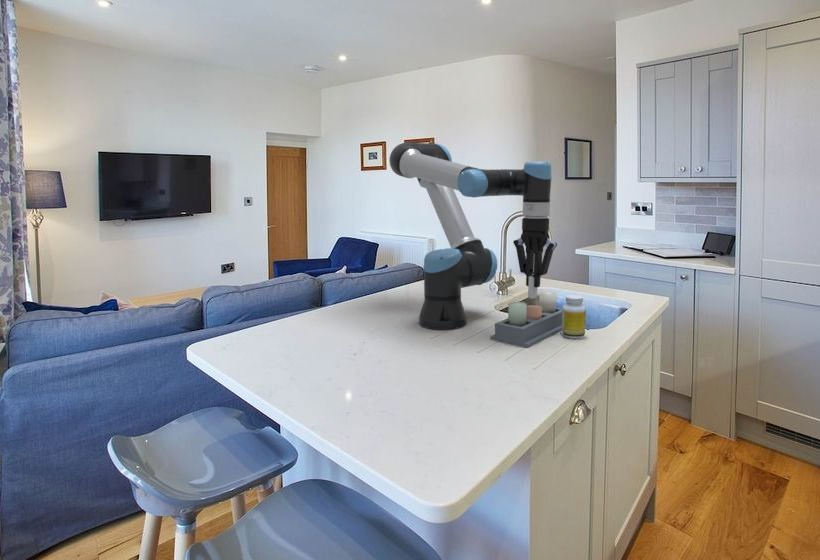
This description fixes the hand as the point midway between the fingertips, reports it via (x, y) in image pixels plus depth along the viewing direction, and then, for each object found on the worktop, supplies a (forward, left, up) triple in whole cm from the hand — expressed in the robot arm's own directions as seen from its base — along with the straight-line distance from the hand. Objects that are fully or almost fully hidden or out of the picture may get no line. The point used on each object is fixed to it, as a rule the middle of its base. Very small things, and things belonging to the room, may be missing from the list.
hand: (532, 297), depth 148 cm
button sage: (0, -9, -6) cm, 11 cm away
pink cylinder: (0, 0, -9) cm, 9 cm away
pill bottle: (+11, +4, -11) cm, 16 cm away
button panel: (0, 0, -11) cm, 11 cm away
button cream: (0, +9, -6) cm, 11 cm away
